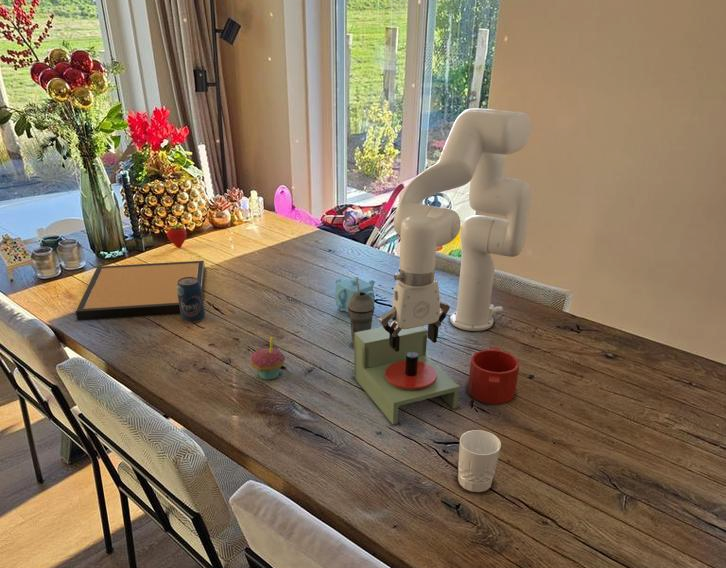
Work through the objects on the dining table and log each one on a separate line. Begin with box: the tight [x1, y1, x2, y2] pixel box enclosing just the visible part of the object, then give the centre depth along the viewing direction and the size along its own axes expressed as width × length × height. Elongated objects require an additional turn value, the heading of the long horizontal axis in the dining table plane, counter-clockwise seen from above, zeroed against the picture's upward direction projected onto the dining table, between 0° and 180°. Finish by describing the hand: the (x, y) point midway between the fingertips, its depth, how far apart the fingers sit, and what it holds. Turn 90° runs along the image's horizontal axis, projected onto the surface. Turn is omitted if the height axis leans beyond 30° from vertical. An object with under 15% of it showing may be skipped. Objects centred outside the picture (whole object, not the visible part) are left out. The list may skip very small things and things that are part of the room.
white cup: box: [457, 429, 502, 493], centre depth 124 cm, size 8×8×10 cm
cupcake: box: [250, 334, 286, 380], centre depth 157 cm, size 9×8×12 cm
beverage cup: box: [347, 276, 375, 348], centre depth 169 cm, size 7×7×20 cm
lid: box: [385, 352, 437, 389], centre depth 147 cm, size 12×12×6 cm
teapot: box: [334, 276, 376, 314], centre depth 190 cm, size 18×14×10 cm
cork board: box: [75, 260, 206, 321], centre depth 202 cm, size 36×3×35 cm
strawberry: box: [166, 222, 188, 249], centre depth 234 cm, size 6×8×10 cm
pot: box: [467, 346, 520, 405], centre depth 153 cm, size 11×17×8 cm
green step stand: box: [353, 324, 460, 425], centre depth 151 cm, size 22×17×13 cm
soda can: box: [176, 277, 206, 324], centre depth 184 cm, size 7×7×12 cm
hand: (413, 344), depth 144 cm, fingers open, 9 cm apart
